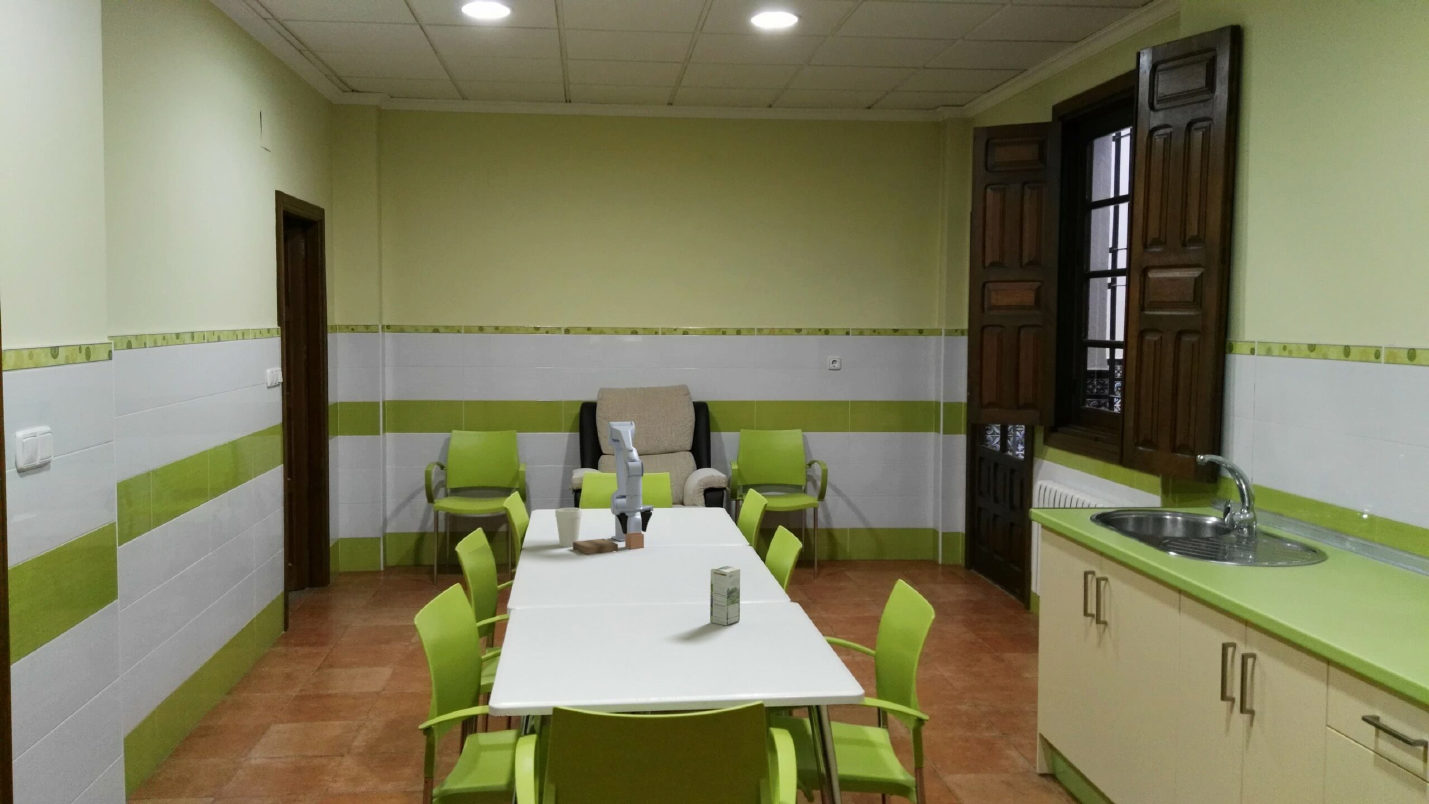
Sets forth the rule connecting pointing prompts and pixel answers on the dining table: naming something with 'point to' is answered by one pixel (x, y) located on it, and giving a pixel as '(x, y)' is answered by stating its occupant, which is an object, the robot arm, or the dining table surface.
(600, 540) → the walnut plinth
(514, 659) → the dining table surface
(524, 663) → the dining table surface
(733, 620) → the syrup box
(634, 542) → the terracotta block
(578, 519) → the foam cup
